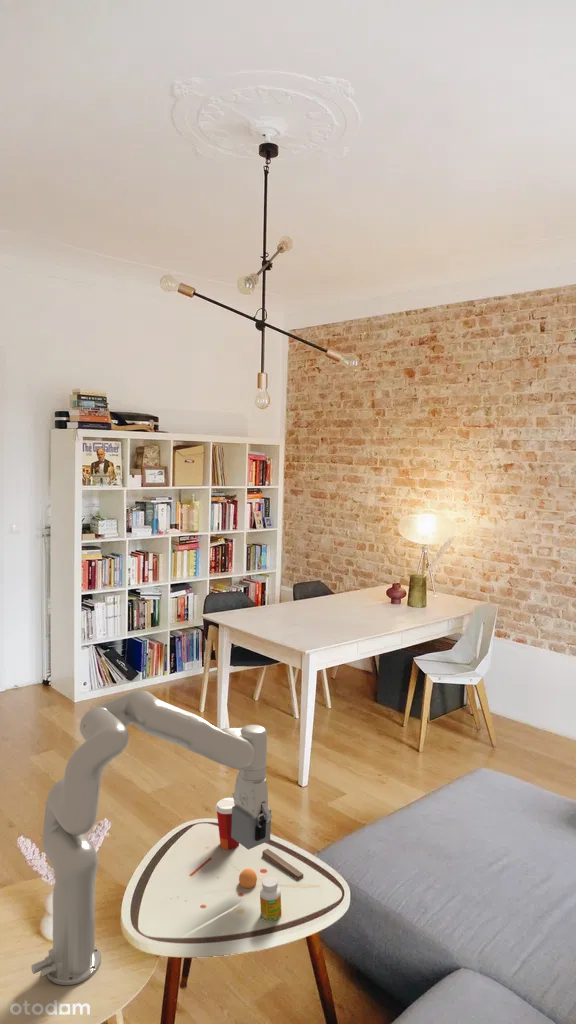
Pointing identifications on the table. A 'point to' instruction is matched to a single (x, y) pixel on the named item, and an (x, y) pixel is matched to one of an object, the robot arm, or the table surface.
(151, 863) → the table surface
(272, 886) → the supplement bottle
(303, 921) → the table surface
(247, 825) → the grey matte cube
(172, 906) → the table surface
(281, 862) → the long brown rectangular bar
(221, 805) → the paper cup
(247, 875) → the ball
